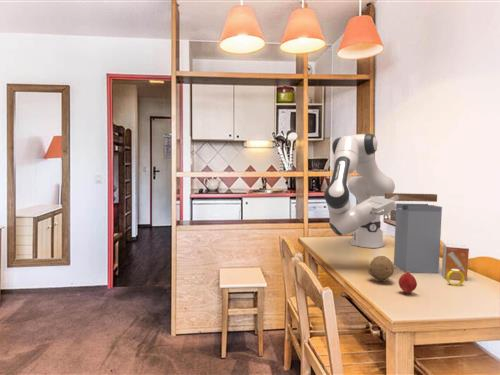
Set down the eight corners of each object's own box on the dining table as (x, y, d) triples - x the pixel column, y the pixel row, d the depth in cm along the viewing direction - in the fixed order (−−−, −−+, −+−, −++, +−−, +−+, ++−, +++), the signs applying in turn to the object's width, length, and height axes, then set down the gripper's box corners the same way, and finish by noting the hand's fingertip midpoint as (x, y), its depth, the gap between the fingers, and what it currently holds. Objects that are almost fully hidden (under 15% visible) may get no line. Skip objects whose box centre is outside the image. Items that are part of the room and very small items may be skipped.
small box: (444, 278, 147) (446, 246, 146) (441, 274, 153) (442, 243, 152) (467, 281, 144) (469, 248, 144) (463, 276, 150) (465, 245, 150)
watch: (449, 286, 138) (448, 271, 138) (445, 284, 141) (445, 268, 141) (465, 286, 138) (465, 270, 138) (461, 283, 141) (461, 268, 140)
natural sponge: (398, 285, 138) (399, 258, 137) (376, 286, 136) (377, 259, 136) (385, 277, 147) (386, 253, 146) (365, 278, 145) (365, 253, 145)
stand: (393, 265, 166) (396, 203, 164) (424, 265, 166) (427, 203, 165) (405, 272, 154) (408, 206, 152) (438, 273, 154) (441, 206, 153)
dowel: (384, 200, 157) (384, 193, 157) (433, 201, 157) (433, 194, 157) (387, 200, 154) (387, 193, 154) (436, 201, 154) (437, 194, 154)
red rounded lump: (395, 290, 131) (396, 268, 131) (410, 290, 132) (411, 268, 131) (403, 296, 126) (404, 273, 125) (419, 296, 126) (420, 273, 126)
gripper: (372, 208, 145) (403, 191, 145) (355, 202, 165) (382, 188, 165) (379, 222, 145) (410, 205, 145) (362, 215, 166) (389, 200, 166)
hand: (395, 195), depth 155 cm, fingers closed on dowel, 3 cm apart
